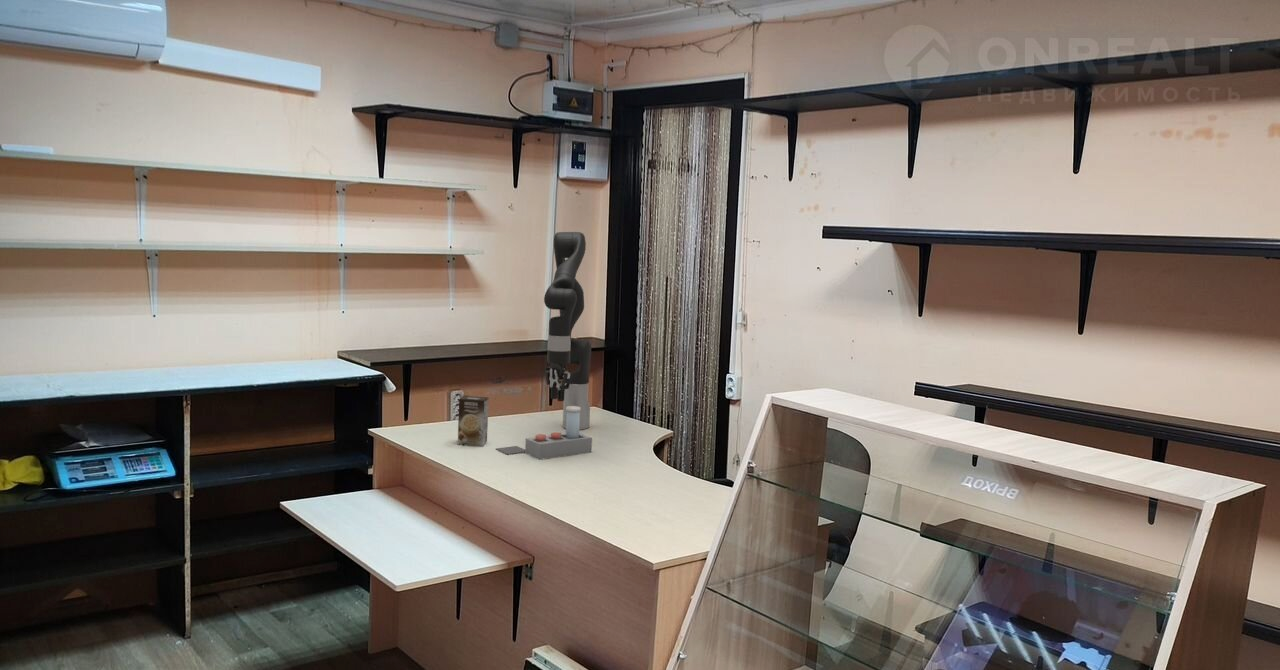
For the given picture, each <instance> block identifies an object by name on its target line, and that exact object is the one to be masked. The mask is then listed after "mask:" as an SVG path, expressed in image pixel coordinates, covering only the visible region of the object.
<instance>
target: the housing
mask: <svg viewBox="0 0 1280 670" xmlns="http://www.w3.org/2000/svg"><path fill="white" fill-rule="evenodd" d="M592 447H593V437H591V436H589V435H586V434H584V433H582V432H579V438H577V439H567V438H566V433H561V439H560V440H552V438H551V434H550V435H546V440H545V442H536V440H535V436H534V437H529V438H528V437H525V453H524V454H526V453H527V454H526V455H528V454H529V456H531V457H533V458H535V457H536V458H535V459H537V458H538V460H544V459H543V458H546V459H552V458H551V457H553V458H560V457H566V456H565V455H567V456H573V455H572V454H574V455H580V454H579V453H582V454H587V453H586V452H589V453H592V450H593V448H592ZM559 456H560V457H559Z"/></svg>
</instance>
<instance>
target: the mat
mask: <svg viewBox="0 0 1280 670" xmlns="http://www.w3.org/2000/svg"><path fill="white" fill-rule="evenodd" d="M495 450H496V451H497V450H498V452H500V451H501V452H500V453H502V452H503V453H502V454H504V453H505V454H504V455H506V454H507V455H506V456H509V454H512V455H517V454H518V453H519V454H526V453H525V449H524V448H523V447H521V446H518V445H512V446H505V447H504V446H503V447H499V448H495Z"/></svg>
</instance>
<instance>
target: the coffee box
mask: <svg viewBox="0 0 1280 670" xmlns="http://www.w3.org/2000/svg"><path fill="white" fill-rule="evenodd" d="M488 422H489V397H487V396H478V395H477V396H476V395H475V396H474V395H462V396H461V397H460V398H459V399H458V426H457V445H459V444H464V445H463V446H471V445H475V446H474V447H484V446H485V445H486V444H487V443H488V430H489V428H488V424H489V423H488ZM486 442H487V443H486ZM485 443H486V444H485ZM484 444H485V445H484ZM483 445H484V446H483Z"/></svg>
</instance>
